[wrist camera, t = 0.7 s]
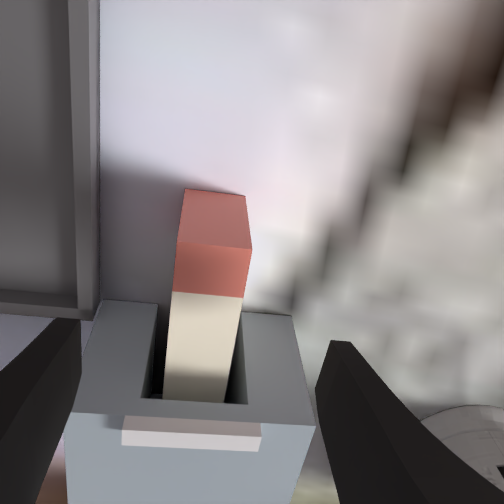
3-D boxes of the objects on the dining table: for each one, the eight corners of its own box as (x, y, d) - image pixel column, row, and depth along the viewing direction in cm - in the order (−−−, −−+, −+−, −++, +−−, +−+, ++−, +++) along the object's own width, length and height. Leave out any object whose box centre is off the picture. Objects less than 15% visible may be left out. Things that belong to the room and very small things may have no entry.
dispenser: (266, 413, 26) (281, 546, 20) (103, 403, 24) (65, 541, 18) (291, 316, 22) (319, 440, 16) (103, 299, 21) (56, 426, 15)
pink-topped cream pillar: (215, 370, 24) (215, 444, 20) (167, 366, 23) (158, 441, 20) (245, 196, 19) (252, 249, 15) (185, 188, 19) (176, 241, 15)
